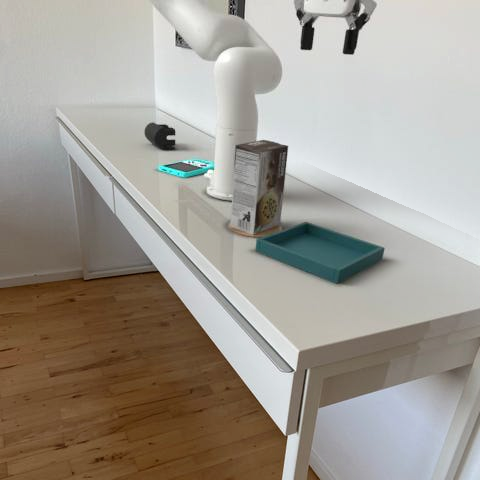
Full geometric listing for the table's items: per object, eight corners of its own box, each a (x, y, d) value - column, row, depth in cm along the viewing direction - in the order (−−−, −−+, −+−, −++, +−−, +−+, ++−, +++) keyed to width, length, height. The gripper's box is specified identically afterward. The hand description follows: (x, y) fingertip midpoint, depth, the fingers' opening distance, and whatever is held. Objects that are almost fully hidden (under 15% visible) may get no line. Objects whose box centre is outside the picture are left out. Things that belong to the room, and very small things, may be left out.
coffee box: (256, 217, 108) (263, 139, 100) (280, 225, 105) (290, 145, 97) (228, 227, 102) (234, 143, 94) (253, 235, 99) (261, 150, 90)
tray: (255, 251, 92) (256, 238, 91) (304, 232, 103) (305, 221, 102) (337, 283, 83) (339, 270, 82) (382, 259, 93) (384, 247, 92)
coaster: (217, 225, 103) (217, 224, 103) (252, 215, 110) (252, 214, 110) (258, 241, 97) (258, 240, 97) (292, 229, 104) (292, 228, 104)
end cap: (144, 144, 166) (143, 122, 163) (164, 143, 170) (164, 122, 166) (154, 150, 159) (154, 127, 156) (175, 150, 162) (176, 127, 159)
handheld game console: (222, 168, 145) (222, 164, 144) (184, 178, 133) (185, 172, 132) (196, 162, 150) (196, 157, 149) (157, 170, 138) (157, 165, 137)
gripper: (289, -60, 91) (279, 47, 100) (375, -63, 82) (355, 55, 90) (313, -53, 96) (301, 49, 105) (396, -56, 87) (375, 56, 96)
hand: (326, 52), depth 98 cm, fingers open, 9 cm apart
